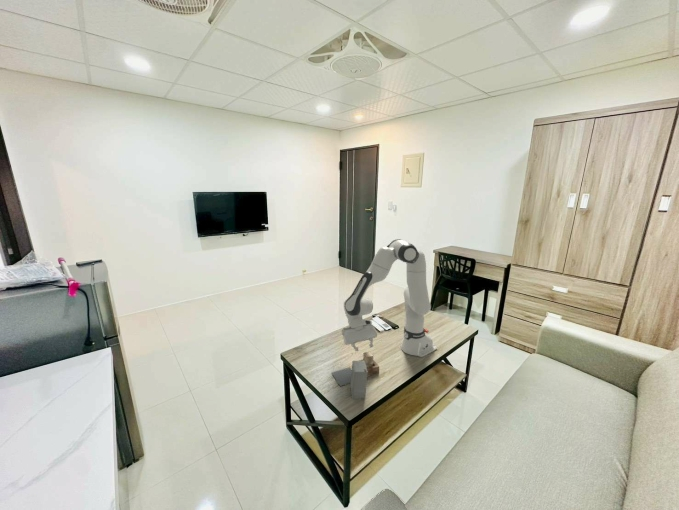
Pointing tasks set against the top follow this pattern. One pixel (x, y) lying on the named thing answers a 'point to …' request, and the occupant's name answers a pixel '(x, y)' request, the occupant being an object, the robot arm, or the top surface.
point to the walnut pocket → (372, 369)
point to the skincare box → (358, 379)
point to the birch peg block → (368, 359)
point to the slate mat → (343, 376)
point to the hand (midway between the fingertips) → (364, 349)
